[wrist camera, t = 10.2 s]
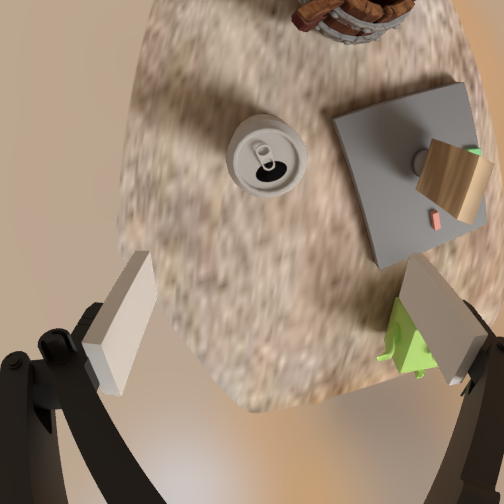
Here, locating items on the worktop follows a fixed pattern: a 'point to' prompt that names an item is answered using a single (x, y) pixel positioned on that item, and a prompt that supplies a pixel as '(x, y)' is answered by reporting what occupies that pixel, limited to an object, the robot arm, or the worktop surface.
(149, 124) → the worktop surface
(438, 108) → the board
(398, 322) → the kettle
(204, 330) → the worktop surface
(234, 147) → the can
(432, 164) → the peg key
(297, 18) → the mug
